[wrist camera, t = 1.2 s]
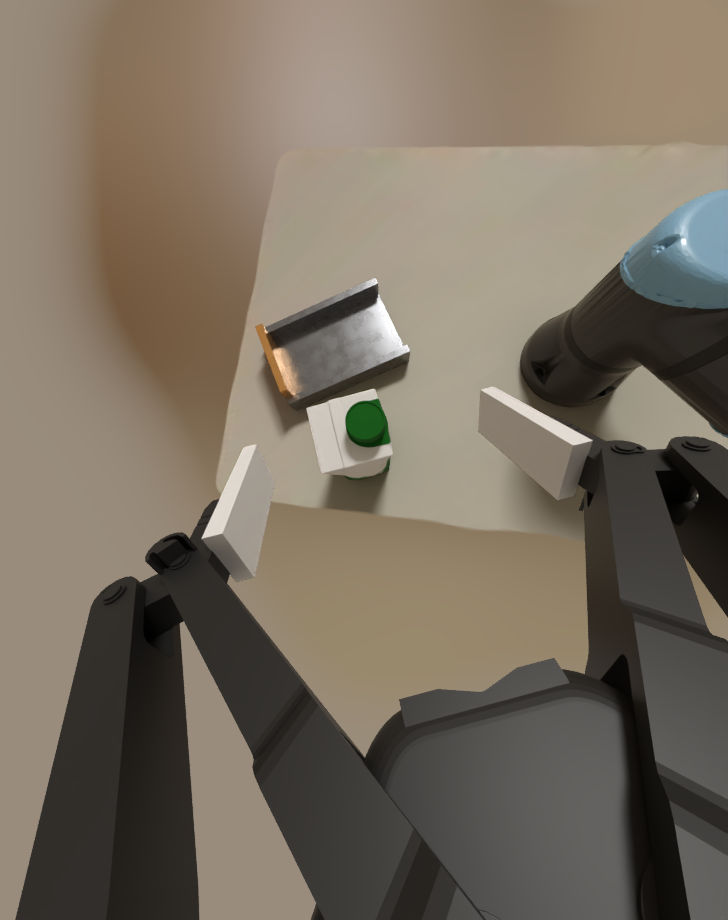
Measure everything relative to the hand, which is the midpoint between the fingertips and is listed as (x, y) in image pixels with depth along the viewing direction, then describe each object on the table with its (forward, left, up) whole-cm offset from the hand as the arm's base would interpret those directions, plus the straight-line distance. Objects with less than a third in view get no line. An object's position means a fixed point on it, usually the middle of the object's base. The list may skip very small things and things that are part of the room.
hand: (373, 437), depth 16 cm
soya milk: (+5, -2, -30) cm, 31 cm away
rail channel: (+17, -18, -30) cm, 39 cm away
